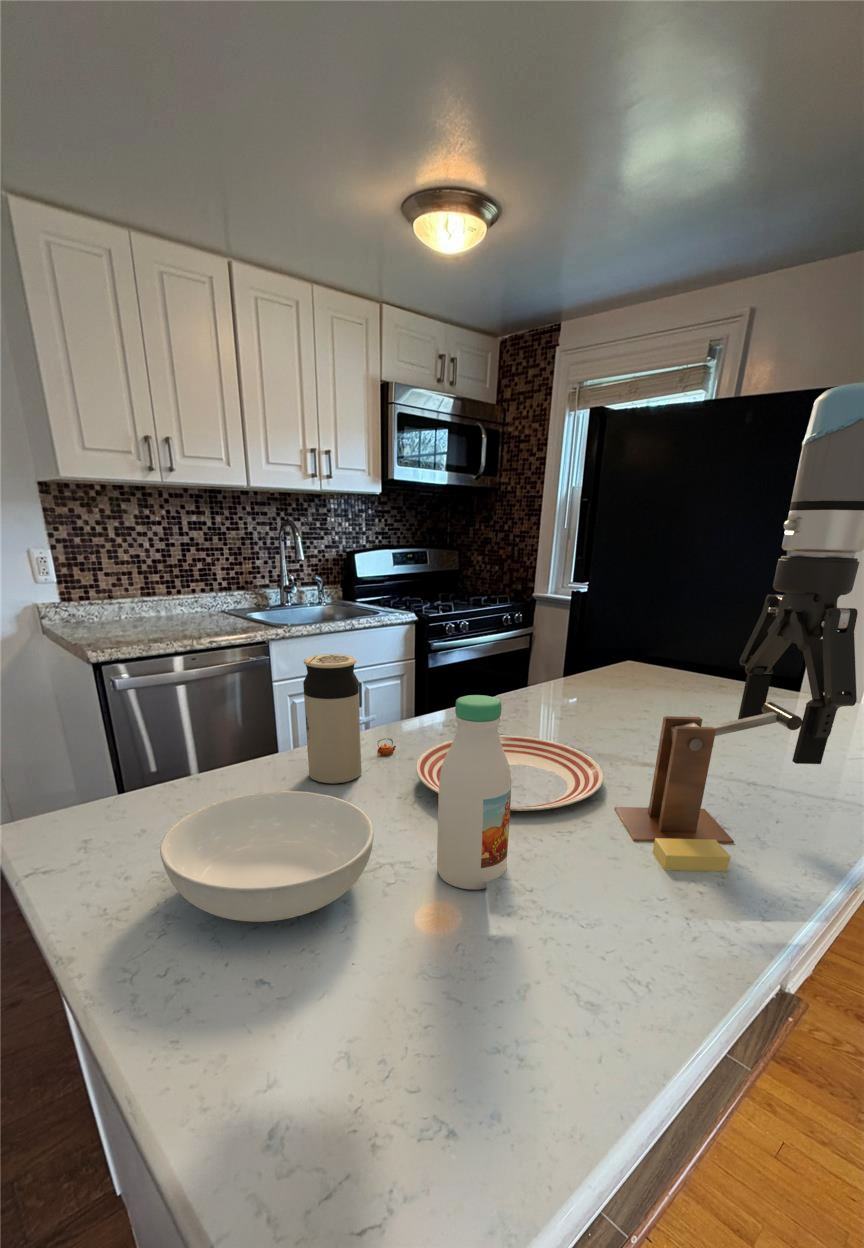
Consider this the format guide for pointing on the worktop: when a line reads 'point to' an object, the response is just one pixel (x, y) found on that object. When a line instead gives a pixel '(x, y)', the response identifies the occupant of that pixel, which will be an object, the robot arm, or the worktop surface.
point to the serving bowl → (268, 854)
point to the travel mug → (332, 718)
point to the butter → (691, 854)
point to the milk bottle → (474, 798)
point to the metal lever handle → (756, 720)
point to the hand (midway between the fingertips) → (774, 742)
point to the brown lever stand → (677, 788)
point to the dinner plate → (533, 752)
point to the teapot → (385, 749)
